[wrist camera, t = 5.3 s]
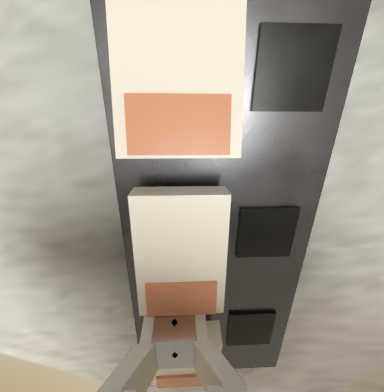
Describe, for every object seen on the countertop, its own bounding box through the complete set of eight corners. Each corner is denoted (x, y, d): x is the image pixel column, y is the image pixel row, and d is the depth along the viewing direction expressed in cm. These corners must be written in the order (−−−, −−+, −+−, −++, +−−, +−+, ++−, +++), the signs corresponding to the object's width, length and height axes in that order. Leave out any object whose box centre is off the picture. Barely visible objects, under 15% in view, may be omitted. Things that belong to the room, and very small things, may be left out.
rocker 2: (219, 320, 12) (223, 349, 11) (211, 360, 16) (213, 385, 14) (144, 323, 12) (140, 353, 11) (153, 363, 15) (151, 388, 14)
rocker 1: (238, -29, 7) (250, -70, 6) (232, 157, 8) (242, 158, 7) (113, -34, 7) (98, -77, 6) (124, 157, 8) (114, 158, 7)
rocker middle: (225, 185, 10) (232, 196, 9) (219, 294, 12) (224, 315, 11) (133, 186, 10) (126, 197, 8) (143, 296, 12) (138, 318, 10)
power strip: (360, -235, 8) (559, -603, 4) (258, 318, 20) (280, 378, 16) (89, -257, 8) (-25, -704, 3) (149, 322, 20) (140, 386, 16)
